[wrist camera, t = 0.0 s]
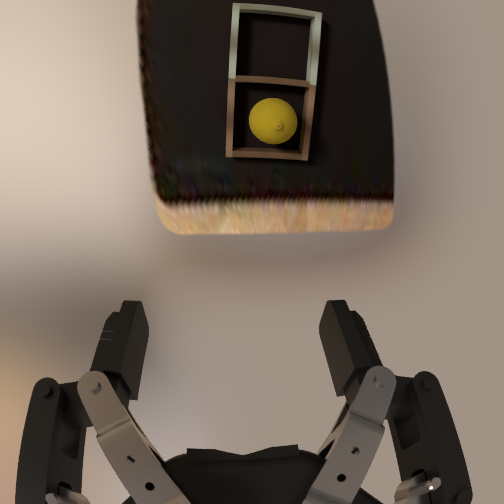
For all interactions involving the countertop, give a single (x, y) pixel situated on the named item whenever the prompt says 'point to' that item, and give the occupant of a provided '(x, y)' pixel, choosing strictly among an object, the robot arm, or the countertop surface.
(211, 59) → the countertop surface
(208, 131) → the countertop surface
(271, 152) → the frame
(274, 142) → the lemon
